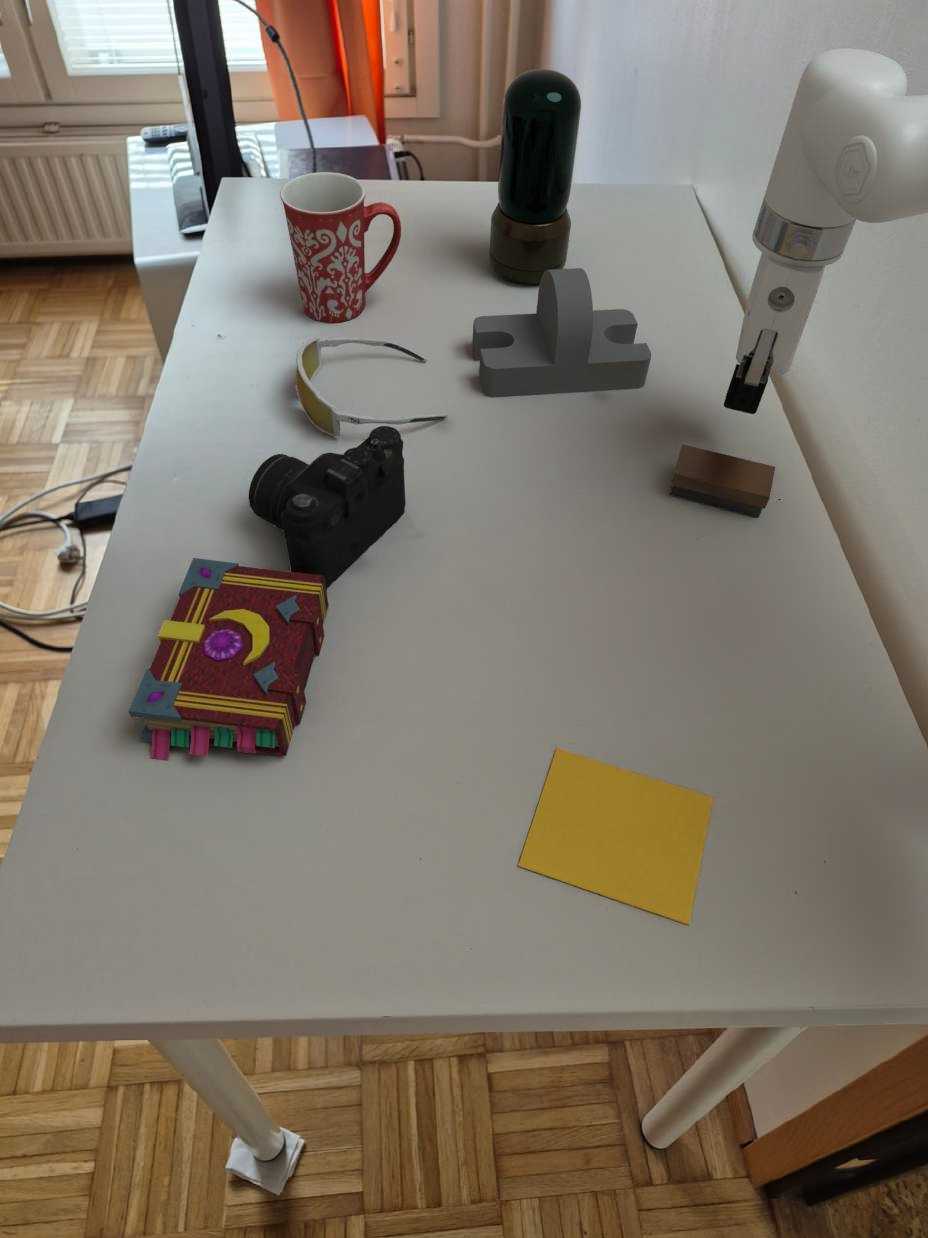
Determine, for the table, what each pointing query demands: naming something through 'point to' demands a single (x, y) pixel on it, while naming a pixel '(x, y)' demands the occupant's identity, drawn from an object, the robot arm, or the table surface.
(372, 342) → the sunglasses
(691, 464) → the brush
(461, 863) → the table surface
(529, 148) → the lamp
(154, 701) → the decorative book
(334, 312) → the mug
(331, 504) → the camera
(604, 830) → the cloth
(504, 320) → the bracket
